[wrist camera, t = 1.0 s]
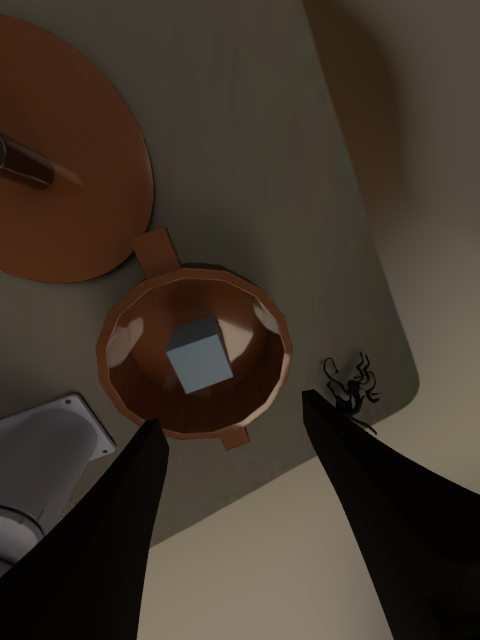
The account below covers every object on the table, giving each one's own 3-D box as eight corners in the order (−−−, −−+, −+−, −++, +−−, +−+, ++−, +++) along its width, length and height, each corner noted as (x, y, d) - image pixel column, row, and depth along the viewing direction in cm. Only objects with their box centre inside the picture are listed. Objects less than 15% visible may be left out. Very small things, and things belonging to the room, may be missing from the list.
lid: (8, 306, 18) (-59, 327, 14) (-165, 66, 13) (-380, -39, 8) (186, 248, 19) (181, 249, 14) (92, 0, 14) (35, -131, 9)
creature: (326, 339, 26) (302, 403, 26) (361, 351, 21) (332, 430, 21) (375, 358, 28) (354, 416, 28) (419, 372, 23) (392, 444, 23)
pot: (171, 433, 25) (164, 482, 20) (75, 262, 18) (25, 269, 13) (289, 389, 26) (311, 425, 21) (240, 209, 19) (254, 195, 14)
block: (189, 363, 22) (186, 394, 17) (173, 328, 21) (165, 352, 16) (227, 349, 22) (233, 377, 18) (213, 314, 21) (217, 333, 16)
